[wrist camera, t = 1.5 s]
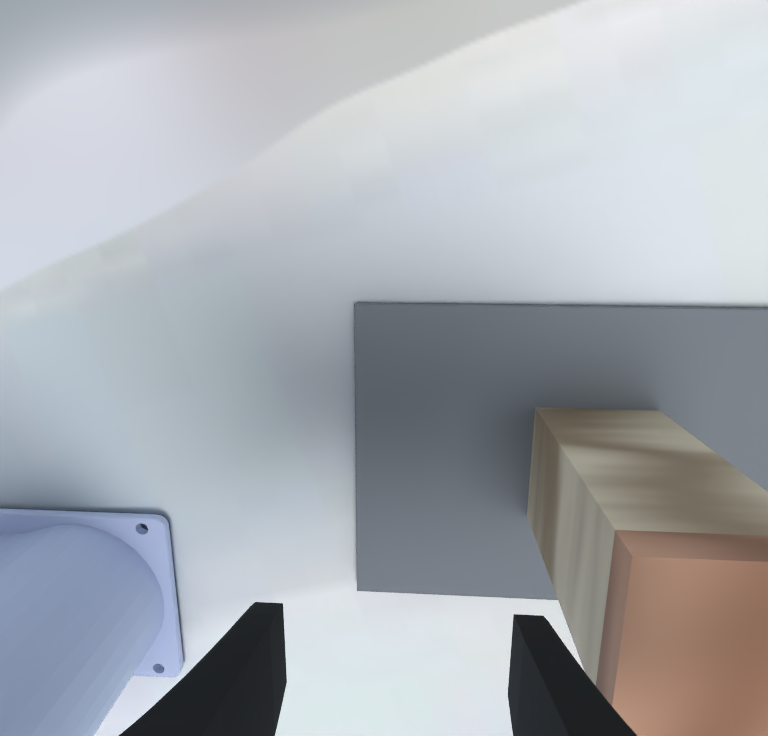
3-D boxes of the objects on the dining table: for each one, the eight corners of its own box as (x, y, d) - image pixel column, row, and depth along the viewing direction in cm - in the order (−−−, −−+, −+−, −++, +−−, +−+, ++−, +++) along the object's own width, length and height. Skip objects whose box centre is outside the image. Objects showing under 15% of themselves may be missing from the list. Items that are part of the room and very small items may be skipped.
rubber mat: (358, 581, 23) (357, 590, 23) (356, 302, 20) (354, 304, 20) (900, 605, 22) (913, 616, 21) (982, 310, 19) (1000, 313, 18)
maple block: (526, 516, 21) (608, 734, 12) (535, 407, 20) (632, 556, 11) (644, 520, 21) (819, 746, 12) (659, 410, 20) (865, 565, 11)
